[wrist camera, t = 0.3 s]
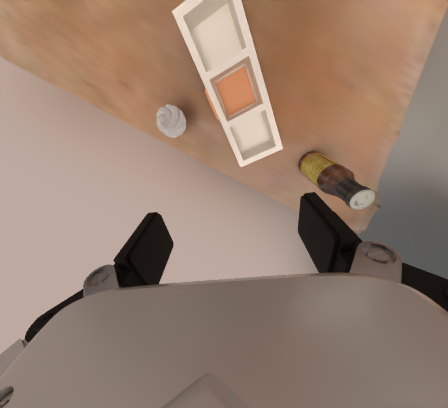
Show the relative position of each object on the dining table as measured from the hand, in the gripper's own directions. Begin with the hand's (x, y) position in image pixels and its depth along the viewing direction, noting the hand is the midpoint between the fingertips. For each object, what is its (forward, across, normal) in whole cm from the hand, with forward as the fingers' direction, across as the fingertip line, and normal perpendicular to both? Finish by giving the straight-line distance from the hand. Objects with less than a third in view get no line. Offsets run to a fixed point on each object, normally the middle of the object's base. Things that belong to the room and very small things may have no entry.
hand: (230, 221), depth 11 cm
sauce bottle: (+36, -20, +11) cm, 43 cm away
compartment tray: (+35, -3, -8) cm, 36 cm away
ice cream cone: (+36, +10, -6) cm, 37 cm away
